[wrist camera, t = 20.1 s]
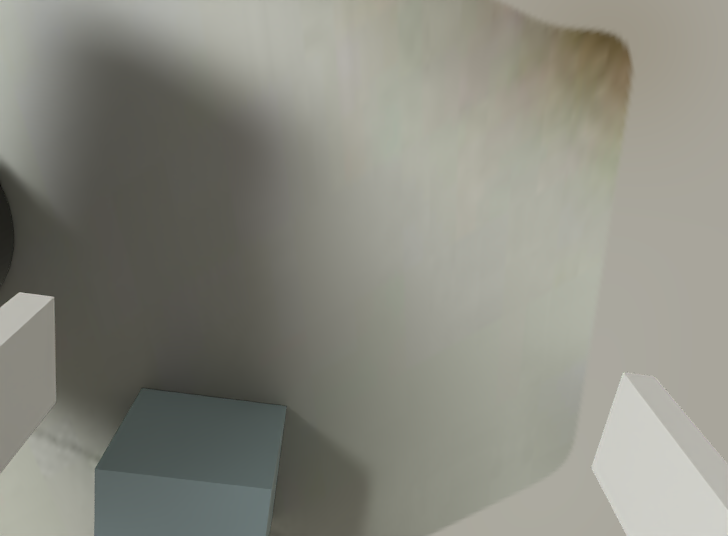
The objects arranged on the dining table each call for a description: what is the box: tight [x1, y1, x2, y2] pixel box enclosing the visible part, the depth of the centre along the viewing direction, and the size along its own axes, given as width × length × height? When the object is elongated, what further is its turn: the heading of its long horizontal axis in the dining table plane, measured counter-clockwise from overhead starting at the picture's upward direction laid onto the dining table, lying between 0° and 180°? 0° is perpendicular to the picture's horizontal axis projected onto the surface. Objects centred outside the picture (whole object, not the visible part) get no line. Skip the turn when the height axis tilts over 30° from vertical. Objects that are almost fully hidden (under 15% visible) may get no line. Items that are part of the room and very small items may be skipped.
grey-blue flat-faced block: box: [94, 388, 287, 536], centre depth 44 cm, size 10×10×9 cm
